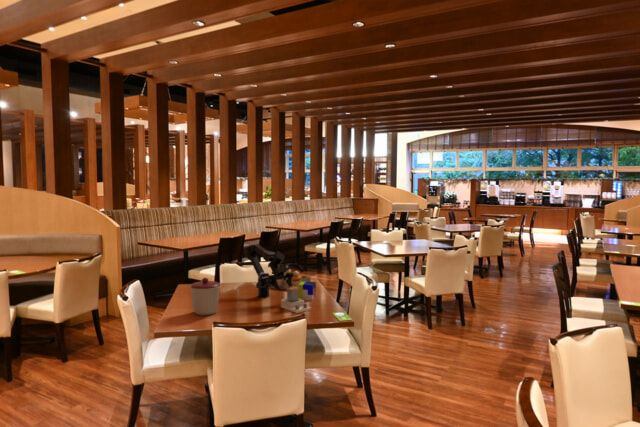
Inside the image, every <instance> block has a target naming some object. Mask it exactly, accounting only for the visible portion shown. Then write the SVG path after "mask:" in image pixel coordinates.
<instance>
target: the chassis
mask: <svg viewBox="0 0 640 427" xmlns="http://www.w3.org/2000/svg"><path fill="white" fill-rule="evenodd" d="M280 308H283V309H286V310H288V311H290V312H293V313H296V314H297V313H302V312H307V311H311V310H312V307H311V306H308V303H305V300H304V299H298V301H296V302H288V301H287V298H282V299H281V300H280Z"/></svg>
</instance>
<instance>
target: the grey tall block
mask: <svg viewBox="0 0 640 427" xmlns="http://www.w3.org/2000/svg"><path fill="white" fill-rule="evenodd" d="M286 299H287V301H288V302H296V301H298V287H295V286H292V287H287V290H286Z"/></svg>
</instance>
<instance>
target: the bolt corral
mask: <svg viewBox="0 0 640 427" xmlns="http://www.w3.org/2000/svg"><path fill="white" fill-rule="evenodd" d="M299 276H301V278H302V279H301V280H299V281H297V282H295V281H293V280H291V281H292V282H291V285H292V286H295V287H298V284H299V283H300V282H301V281H306V282H312V281H311V280H312V277H311V276H309V275H301V274H299ZM284 280H285V279H277V280H276V281H277V284H278V286H279V288H280V290H285V289H286V291H287V287H289V286H288V284H287V283H286V281H284ZM269 288H270V289H276V288H275V287H274V286H272V285H271V287H269Z"/></svg>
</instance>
